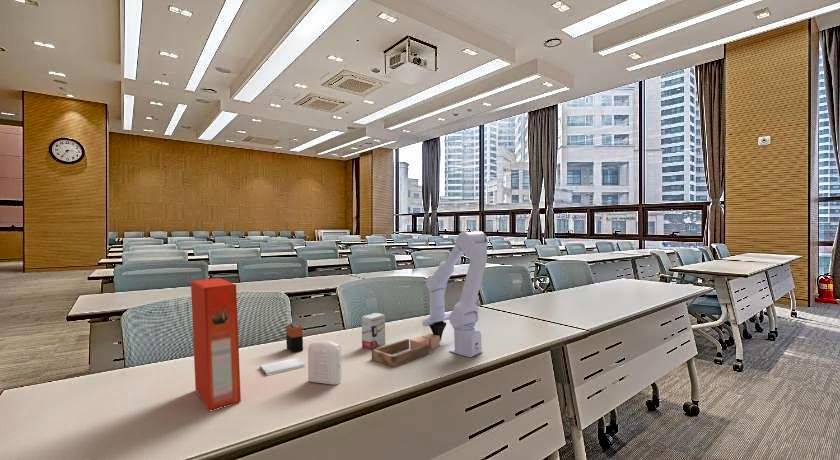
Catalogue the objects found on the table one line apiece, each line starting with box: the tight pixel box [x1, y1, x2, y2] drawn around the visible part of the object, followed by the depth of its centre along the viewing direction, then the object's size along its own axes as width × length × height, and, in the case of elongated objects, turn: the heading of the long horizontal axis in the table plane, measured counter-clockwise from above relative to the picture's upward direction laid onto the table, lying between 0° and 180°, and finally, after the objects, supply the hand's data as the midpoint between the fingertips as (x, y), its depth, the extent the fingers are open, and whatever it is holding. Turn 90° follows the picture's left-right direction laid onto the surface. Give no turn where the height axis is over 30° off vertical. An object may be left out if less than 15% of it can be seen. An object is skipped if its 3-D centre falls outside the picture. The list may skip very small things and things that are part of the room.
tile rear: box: [420, 332, 441, 350], centre depth 152 cm, size 5×5×4 cm
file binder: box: [190, 277, 242, 412], centre depth 110 cm, size 8×17×32 cm, turn 39°
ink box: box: [361, 312, 386, 350], centre depth 154 cm, size 9×5×12 cm, turn 143°
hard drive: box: [259, 357, 306, 376], centre depth 132 cm, size 2×8×12 cm
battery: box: [285, 321, 304, 353], centre depth 150 cm, size 4×7×10 cm, turn 35°
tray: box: [371, 338, 430, 368], centre depth 141 cm, size 11×17×3 cm, turn 136°
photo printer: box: [307, 340, 342, 386], centre depth 120 cm, size 10×4×12 cm, turn 72°
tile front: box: [409, 336, 429, 350], centre depth 148 cm, size 5×5×4 cm
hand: (437, 340), depth 155 cm, fingers closed
